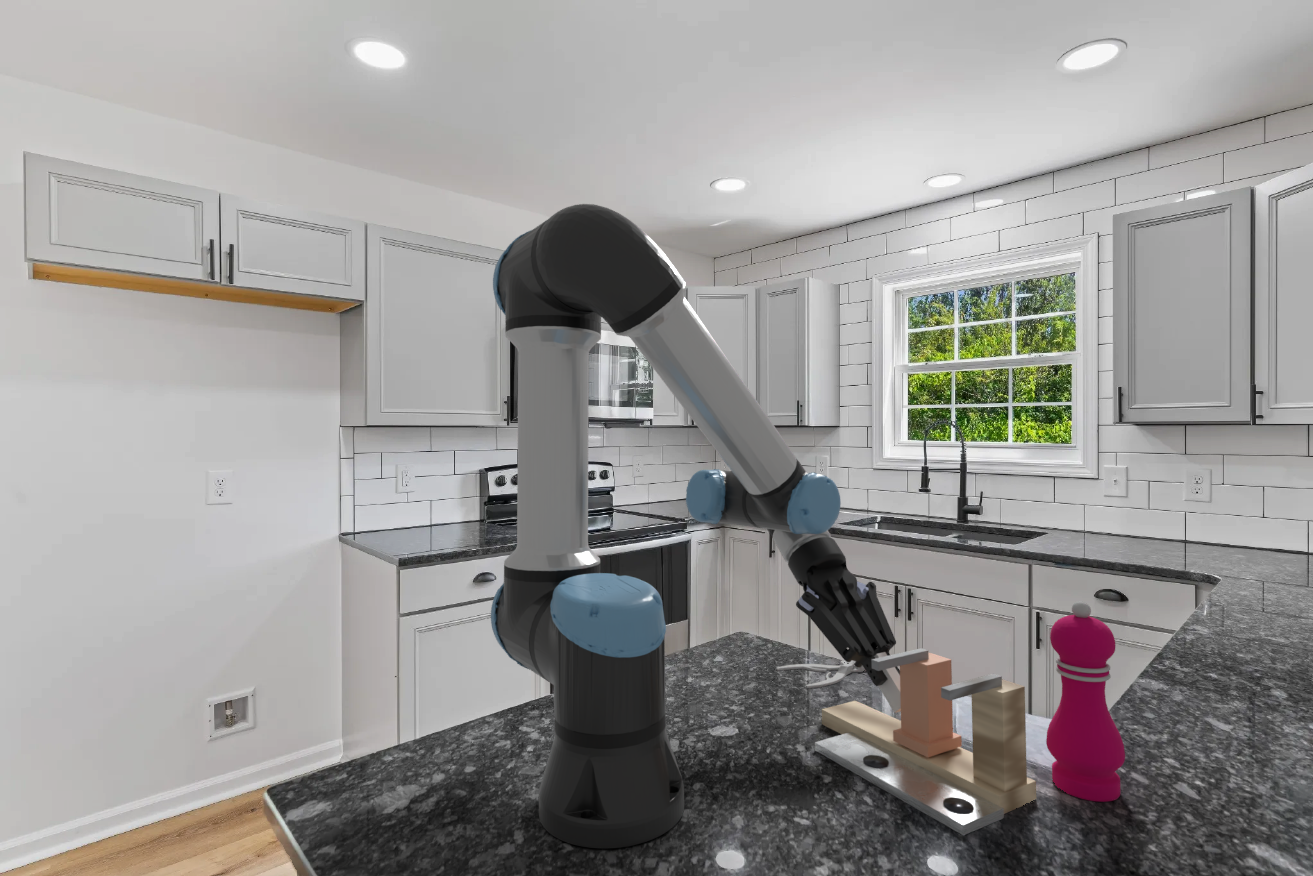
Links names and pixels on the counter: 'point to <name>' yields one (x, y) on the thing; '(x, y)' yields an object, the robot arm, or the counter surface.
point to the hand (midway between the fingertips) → (904, 706)
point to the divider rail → (983, 772)
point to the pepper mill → (1084, 710)
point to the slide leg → (923, 701)
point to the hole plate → (911, 783)
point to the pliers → (841, 673)
